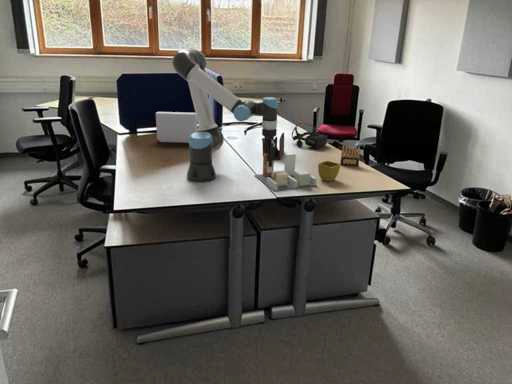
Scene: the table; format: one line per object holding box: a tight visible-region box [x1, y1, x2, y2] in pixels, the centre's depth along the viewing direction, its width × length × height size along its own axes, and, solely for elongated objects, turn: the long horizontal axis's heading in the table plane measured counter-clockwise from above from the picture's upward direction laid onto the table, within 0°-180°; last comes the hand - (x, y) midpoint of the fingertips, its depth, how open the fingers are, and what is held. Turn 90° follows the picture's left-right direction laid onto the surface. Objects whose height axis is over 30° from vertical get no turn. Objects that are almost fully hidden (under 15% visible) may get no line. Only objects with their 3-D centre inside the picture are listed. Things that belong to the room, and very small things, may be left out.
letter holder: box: [274, 132, 285, 161], centre depth 264 cm, size 10×20×14 cm, turn 170°
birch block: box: [262, 153, 288, 186], centre depth 219 cm, size 18×6×12 cm, turn 23°
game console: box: [155, 111, 198, 144], centre depth 291 cm, size 6×27×20 cm, turn 89°
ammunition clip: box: [339, 145, 361, 168], centre depth 248 cm, size 11×2×12 cm, turn 78°
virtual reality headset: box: [291, 122, 328, 150], centre depth 290 cm, size 19×24×15 cm
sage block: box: [283, 152, 312, 186], centre depth 220 cm, size 18×6×12 cm, turn 23°
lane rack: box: [254, 173, 318, 192], centre depth 222 cm, size 25×24×4 cm
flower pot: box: [317, 160, 342, 183], centre depth 224 cm, size 9×9×9 cm
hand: (268, 171), depth 227 cm, fingers closed on birch block, 2 cm apart
